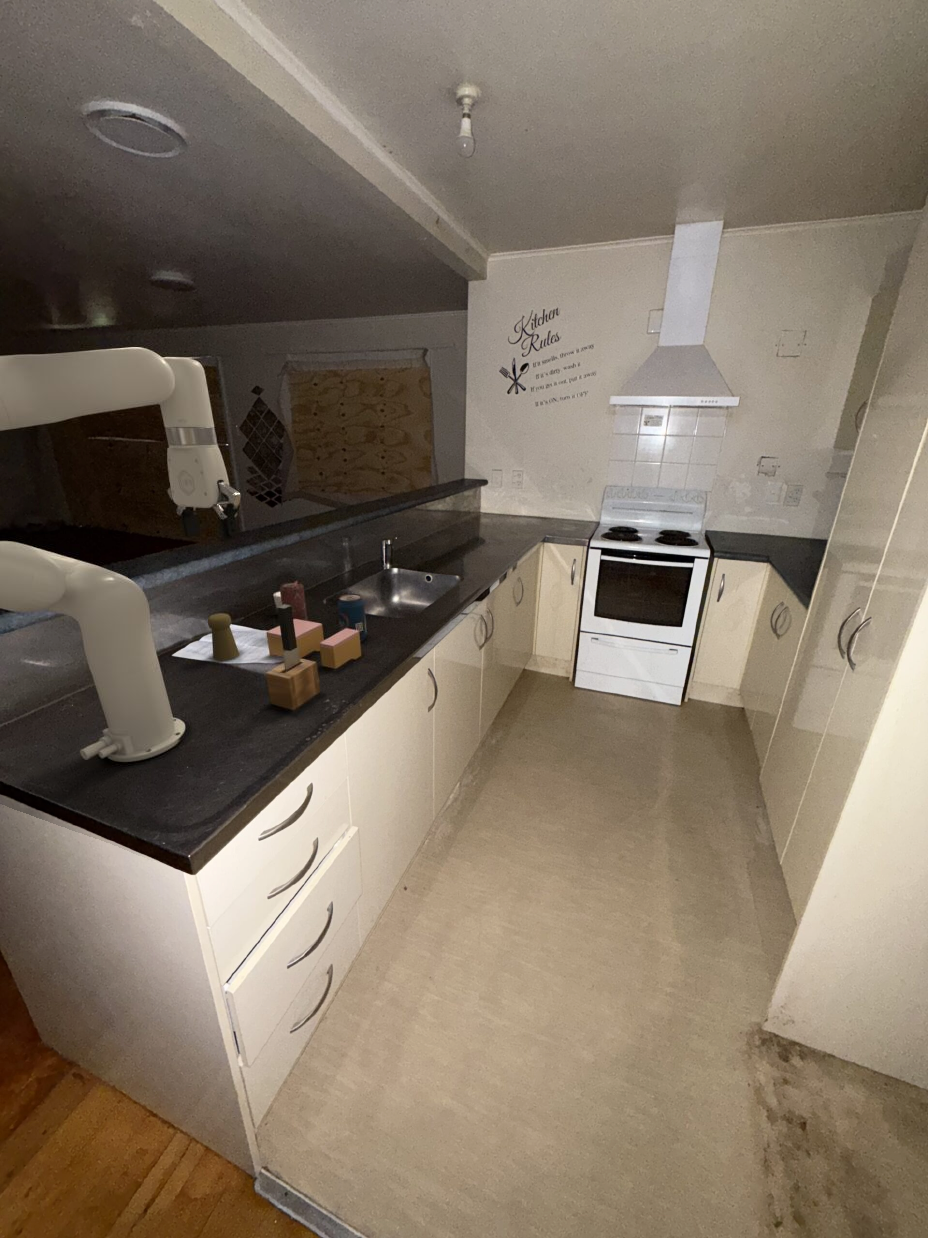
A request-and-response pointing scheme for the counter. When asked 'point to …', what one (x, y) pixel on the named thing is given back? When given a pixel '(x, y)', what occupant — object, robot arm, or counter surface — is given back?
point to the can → (294, 599)
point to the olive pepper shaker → (222, 637)
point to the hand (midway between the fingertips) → (211, 537)
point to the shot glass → (277, 599)
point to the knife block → (293, 684)
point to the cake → (297, 638)
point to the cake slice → (340, 648)
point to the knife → (288, 637)
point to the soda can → (352, 614)
